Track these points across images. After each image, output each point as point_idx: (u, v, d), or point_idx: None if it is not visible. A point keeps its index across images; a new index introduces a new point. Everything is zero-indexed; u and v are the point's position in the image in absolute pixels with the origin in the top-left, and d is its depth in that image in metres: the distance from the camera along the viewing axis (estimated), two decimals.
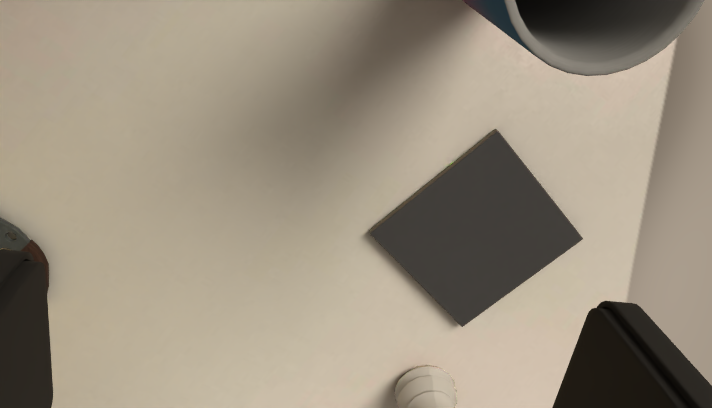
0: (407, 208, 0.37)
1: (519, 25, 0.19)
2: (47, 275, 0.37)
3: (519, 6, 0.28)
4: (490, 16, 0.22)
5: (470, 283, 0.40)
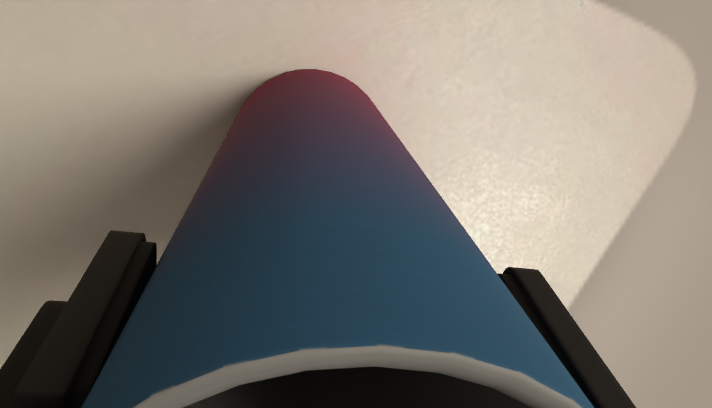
0: None
1: None
2: None
3: None
4: None
5: None
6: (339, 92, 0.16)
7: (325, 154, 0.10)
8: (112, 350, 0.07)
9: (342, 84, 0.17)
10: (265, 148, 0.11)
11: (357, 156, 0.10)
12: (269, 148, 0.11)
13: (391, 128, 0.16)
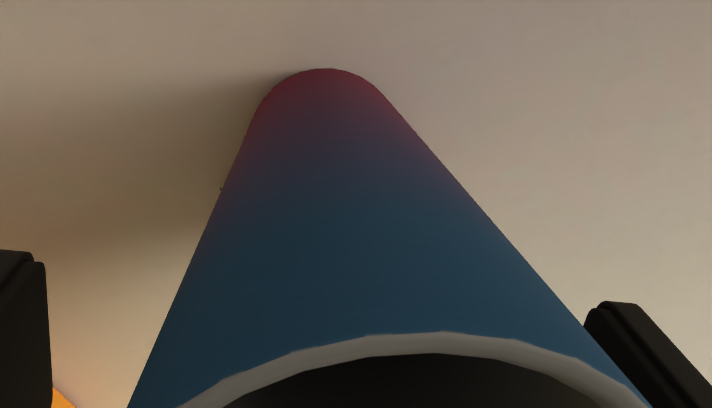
0: None
1: None
2: None
3: None
4: None
5: None
6: (359, 91, 0.16)
7: (356, 151, 0.10)
8: (160, 341, 0.07)
9: (360, 83, 0.18)
10: (295, 145, 0.11)
11: (387, 152, 0.11)
12: (299, 145, 0.11)
13: None
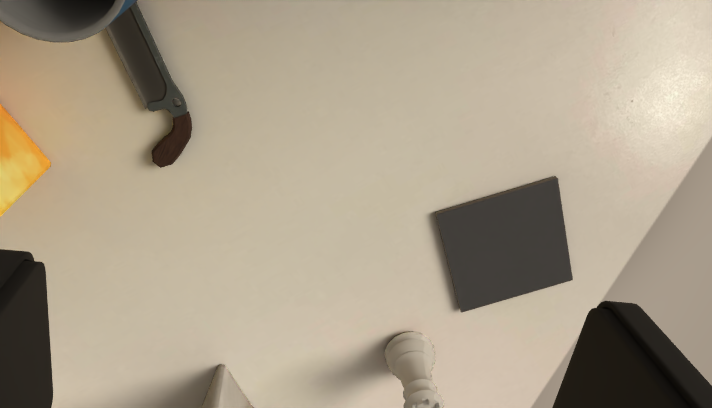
0: (471, 207, 0.48)
1: None
2: (185, 144, 0.43)
3: None
4: None
5: (484, 281, 0.51)
6: None
7: None
8: None
9: None
10: None
11: None
12: None
13: None
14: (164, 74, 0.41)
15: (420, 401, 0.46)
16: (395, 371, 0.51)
